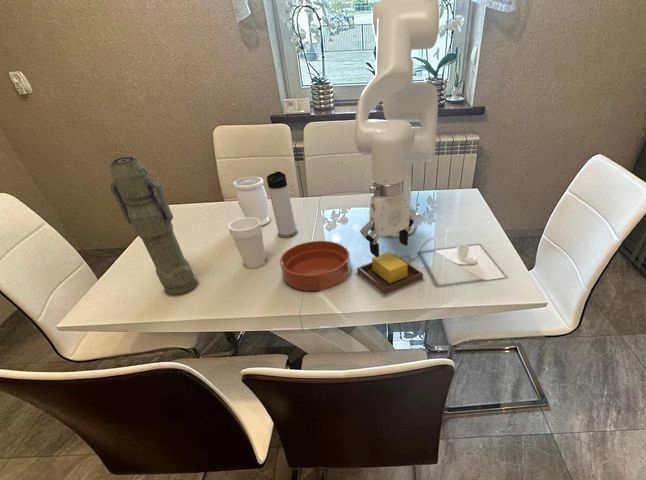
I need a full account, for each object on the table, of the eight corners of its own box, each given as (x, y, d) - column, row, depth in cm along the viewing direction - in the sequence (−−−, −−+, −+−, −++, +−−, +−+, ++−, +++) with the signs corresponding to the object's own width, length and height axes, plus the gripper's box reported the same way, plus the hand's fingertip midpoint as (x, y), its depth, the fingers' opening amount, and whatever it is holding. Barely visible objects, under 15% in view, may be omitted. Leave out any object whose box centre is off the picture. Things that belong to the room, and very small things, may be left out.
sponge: (389, 266, 113) (388, 251, 110) (407, 279, 108) (407, 264, 104) (372, 273, 111) (371, 257, 108) (390, 286, 105) (390, 271, 102)
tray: (393, 260, 117) (393, 253, 115) (422, 280, 108) (423, 273, 106) (357, 274, 112) (357, 267, 110) (384, 296, 103) (384, 289, 101)
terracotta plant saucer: (330, 250, 123) (328, 234, 120) (363, 276, 111) (362, 260, 107) (273, 270, 116) (269, 254, 112) (301, 300, 103) (298, 283, 99)
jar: (278, 219, 143) (269, 178, 133) (258, 230, 137) (248, 188, 127) (258, 214, 148) (248, 174, 138) (238, 224, 142) (226, 183, 131)
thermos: (198, 293, 108) (142, 163, 84) (156, 297, 108) (89, 168, 84) (205, 277, 115) (155, 152, 91) (166, 280, 114) (105, 156, 90)
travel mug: (298, 229, 136) (287, 171, 123) (294, 237, 132) (282, 178, 118) (281, 229, 137) (269, 171, 123) (276, 237, 132) (263, 178, 119)
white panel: (480, 265, 112) (482, 253, 109) (455, 268, 111) (456, 256, 109) (470, 251, 119) (471, 239, 116) (445, 254, 118) (447, 242, 115)
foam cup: (275, 257, 122) (266, 218, 113) (260, 272, 115) (249, 232, 106) (250, 254, 124) (239, 215, 115) (234, 268, 118) (221, 228, 109)
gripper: (367, 201, 87) (370, 265, 99) (425, 182, 93) (422, 244, 105) (350, 191, 92) (356, 253, 104) (407, 174, 98) (406, 234, 110)
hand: (389, 249), depth 105 cm, fingers open, 9 cm apart
